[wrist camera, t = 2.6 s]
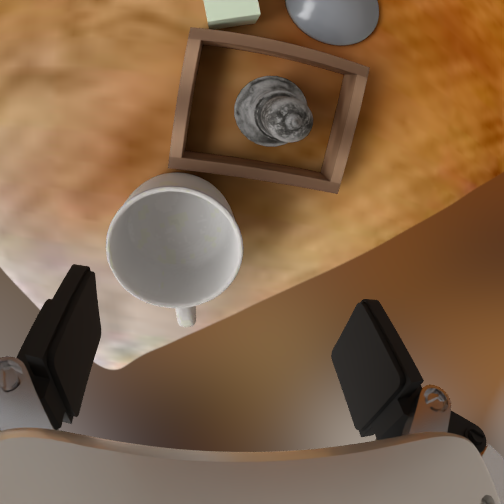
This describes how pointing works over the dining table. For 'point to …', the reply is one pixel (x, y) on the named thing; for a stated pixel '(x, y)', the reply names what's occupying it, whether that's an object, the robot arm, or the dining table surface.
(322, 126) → the dining table surface
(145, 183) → the teacup
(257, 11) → the sage block
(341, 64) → the walnut corral
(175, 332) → the dining table surface
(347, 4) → the slate coaster
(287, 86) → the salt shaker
